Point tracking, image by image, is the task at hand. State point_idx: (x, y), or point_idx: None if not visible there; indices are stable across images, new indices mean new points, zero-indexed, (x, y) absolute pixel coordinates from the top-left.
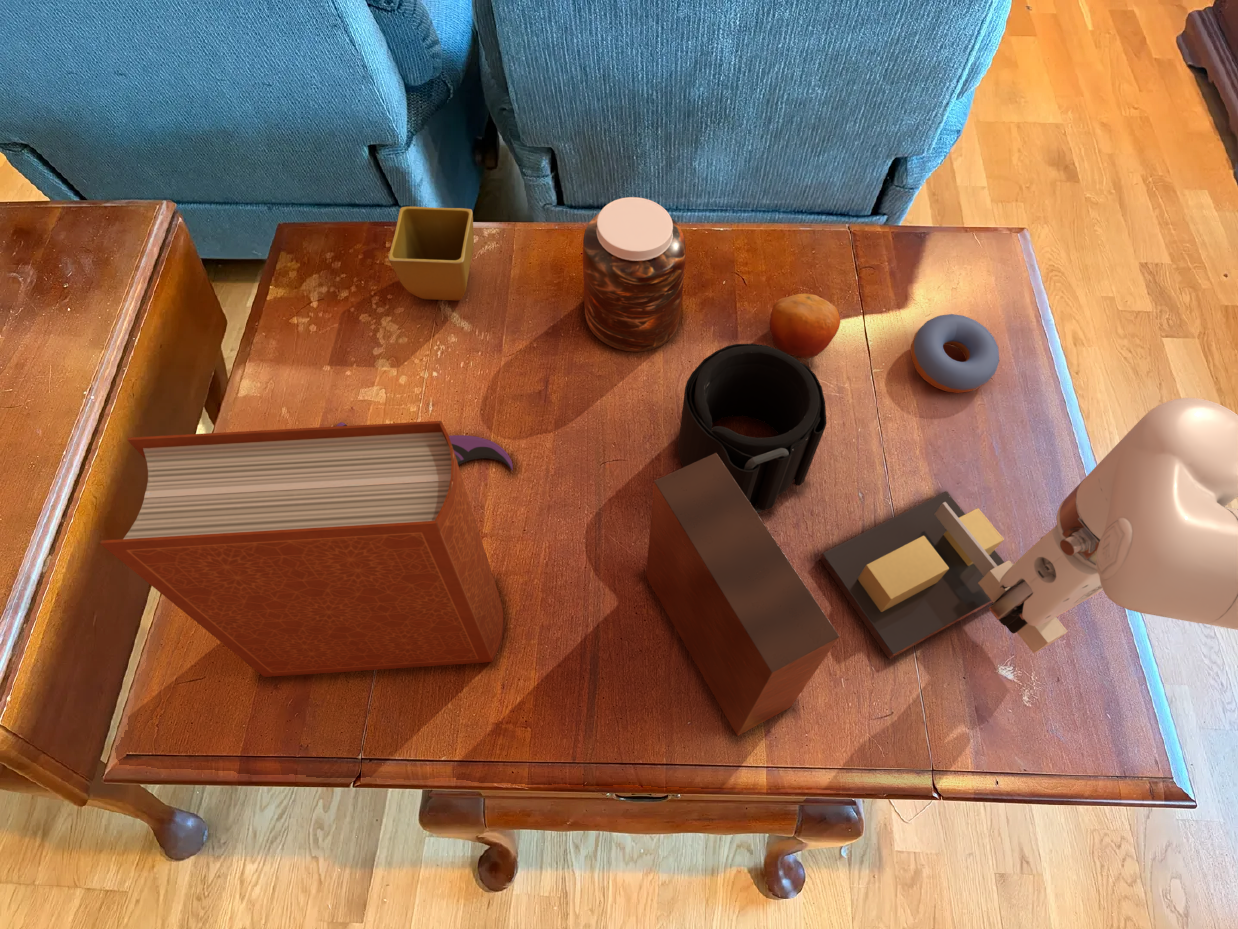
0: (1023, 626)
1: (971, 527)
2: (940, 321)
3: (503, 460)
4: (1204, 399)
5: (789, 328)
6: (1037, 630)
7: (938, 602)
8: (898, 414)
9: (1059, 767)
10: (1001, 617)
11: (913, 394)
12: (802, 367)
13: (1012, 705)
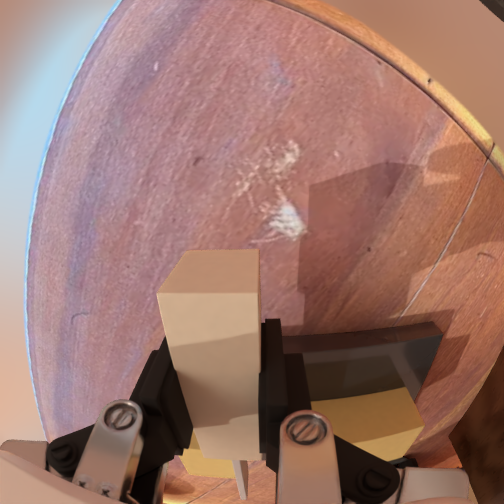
0: (267, 344)
1: (218, 469)
2: None
3: None
4: None
5: None
6: (259, 340)
7: (325, 380)
8: (195, 483)
9: (316, 31)
10: (452, 478)
11: (171, 483)
12: None
13: (325, 159)
